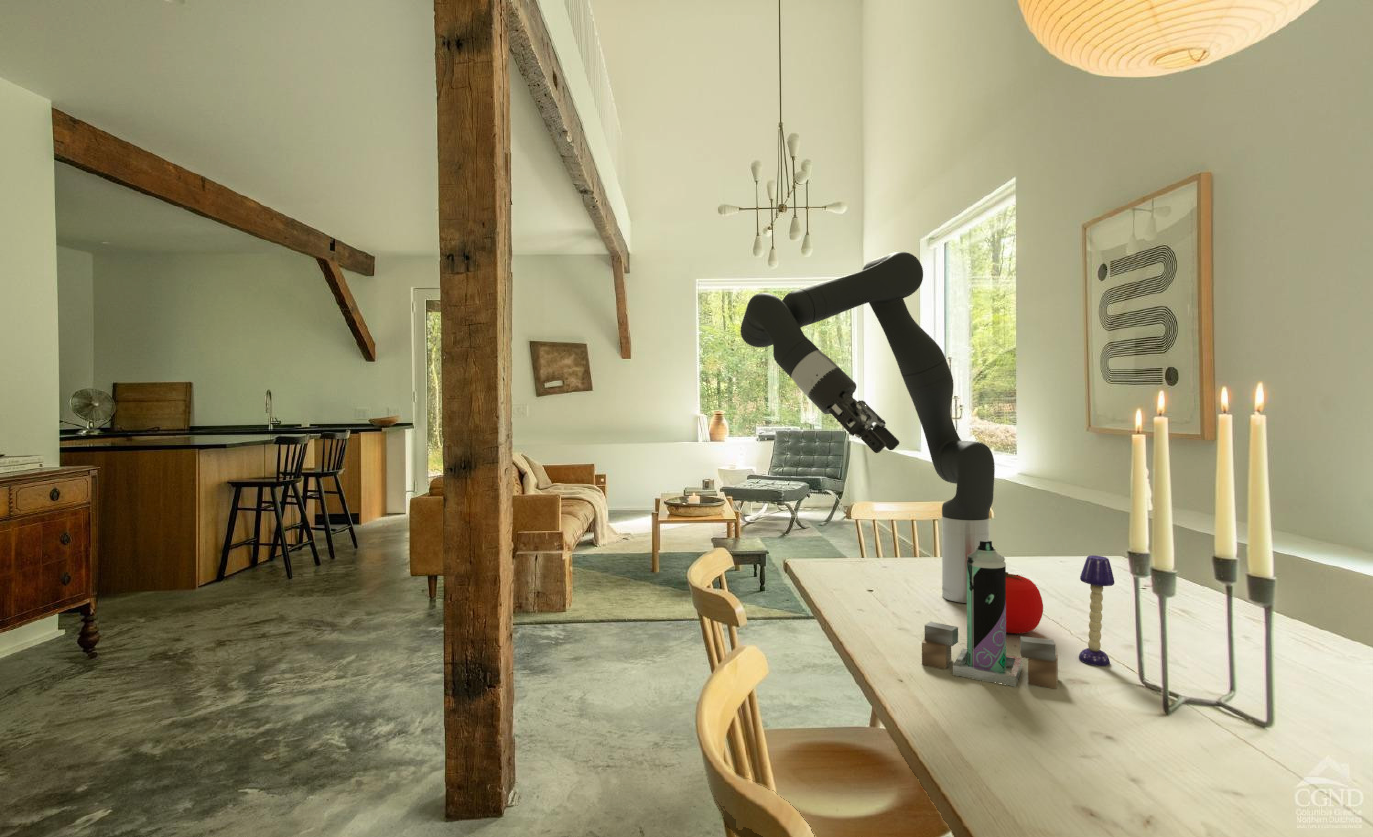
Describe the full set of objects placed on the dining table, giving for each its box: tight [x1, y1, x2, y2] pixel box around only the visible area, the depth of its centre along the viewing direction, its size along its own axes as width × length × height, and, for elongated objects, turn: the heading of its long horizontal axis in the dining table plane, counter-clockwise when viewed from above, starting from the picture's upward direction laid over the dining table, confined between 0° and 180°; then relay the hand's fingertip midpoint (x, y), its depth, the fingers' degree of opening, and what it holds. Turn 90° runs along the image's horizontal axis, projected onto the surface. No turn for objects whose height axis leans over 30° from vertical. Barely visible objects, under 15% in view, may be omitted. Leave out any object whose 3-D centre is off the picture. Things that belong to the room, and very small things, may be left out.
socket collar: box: [952, 647, 1023, 688], centre depth 105 cm, size 9×9×2 cm
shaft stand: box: [921, 620, 1059, 690], centre depth 105 cm, size 19×4×6 cm, turn 59°
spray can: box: [966, 540, 1007, 673], centre depth 105 cm, size 6×6×20 cm
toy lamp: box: [1078, 554, 1115, 667], centre depth 108 cm, size 5×5×17 cm
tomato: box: [1006, 571, 1044, 634], centre depth 124 cm, size 12×12×10 cm
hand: (888, 448), depth 115 cm, fingers open, 8 cm apart
